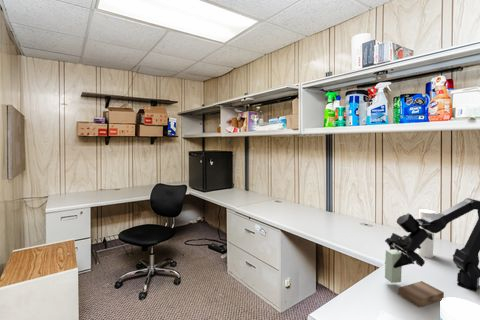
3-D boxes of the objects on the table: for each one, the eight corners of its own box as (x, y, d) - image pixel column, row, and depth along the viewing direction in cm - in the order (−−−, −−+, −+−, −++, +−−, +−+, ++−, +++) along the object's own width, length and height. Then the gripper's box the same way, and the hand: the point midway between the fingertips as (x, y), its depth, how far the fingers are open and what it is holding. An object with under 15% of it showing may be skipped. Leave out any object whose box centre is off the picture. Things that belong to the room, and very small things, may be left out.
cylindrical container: (427, 258, 142) (429, 213, 140) (414, 253, 148) (416, 210, 146) (435, 256, 145) (438, 212, 143) (422, 251, 151) (424, 208, 149)
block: (394, 276, 119) (395, 249, 118) (401, 282, 115) (402, 253, 114) (384, 277, 119) (385, 249, 118) (391, 282, 115) (392, 254, 114)
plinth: (421, 287, 115) (421, 281, 115) (443, 299, 106) (443, 292, 106) (398, 294, 110) (398, 287, 110) (419, 307, 102) (419, 299, 101)
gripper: (389, 221, 125) (366, 244, 125) (419, 235, 106) (392, 263, 106) (404, 236, 126) (381, 259, 126) (436, 253, 107) (410, 280, 107)
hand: (390, 264), depth 116 cm, fingers closed on block, 4 cm apart
